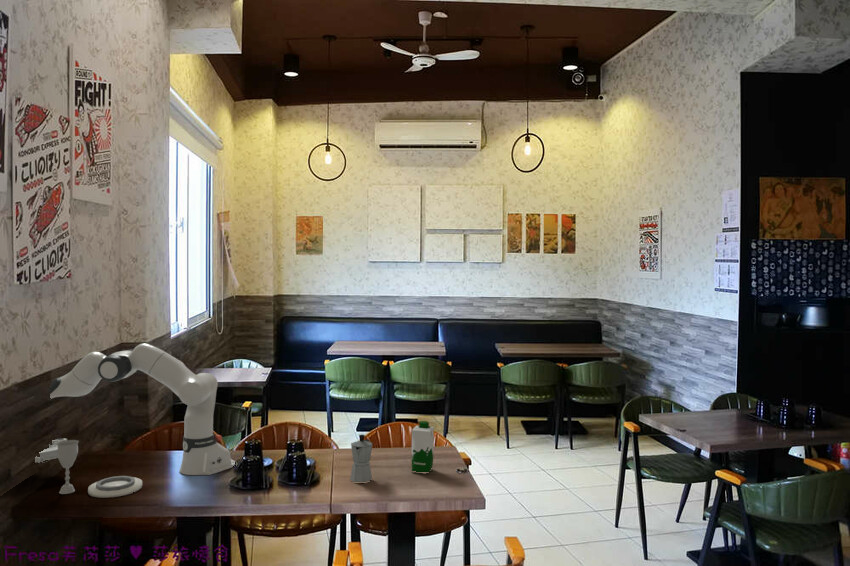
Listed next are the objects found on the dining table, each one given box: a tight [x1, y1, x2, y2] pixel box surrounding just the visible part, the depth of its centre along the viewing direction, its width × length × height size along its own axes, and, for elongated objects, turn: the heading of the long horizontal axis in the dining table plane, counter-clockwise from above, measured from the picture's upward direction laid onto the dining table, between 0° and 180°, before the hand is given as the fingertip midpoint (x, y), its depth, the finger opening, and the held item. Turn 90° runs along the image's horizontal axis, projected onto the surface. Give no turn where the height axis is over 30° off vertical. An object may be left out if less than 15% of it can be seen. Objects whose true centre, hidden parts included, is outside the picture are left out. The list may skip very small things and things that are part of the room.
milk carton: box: [411, 420, 435, 472], centre depth 255 cm, size 9×9×20 cm
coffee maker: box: [349, 434, 373, 483], centre depth 243 cm, size 15×9×18 cm, turn 168°
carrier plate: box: [87, 475, 143, 499], centre depth 228 cm, size 18×18×3 cm
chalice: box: [56, 439, 80, 495], centre depth 224 cm, size 7×7×18 cm
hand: (55, 457), depth 232 cm, fingers open, 8 cm apart
